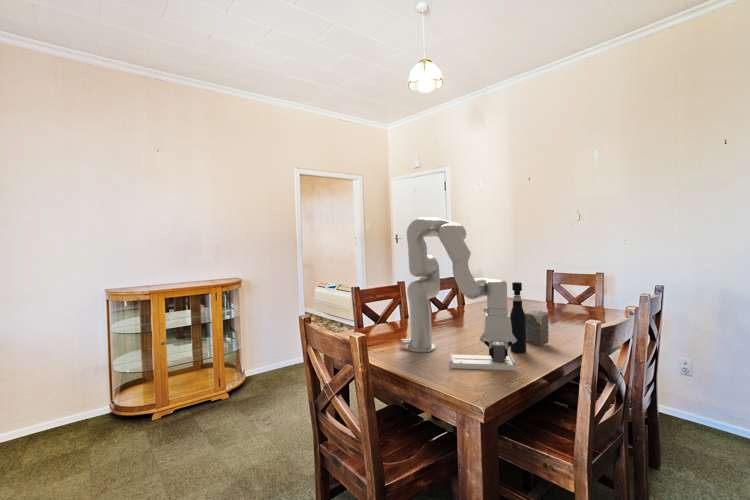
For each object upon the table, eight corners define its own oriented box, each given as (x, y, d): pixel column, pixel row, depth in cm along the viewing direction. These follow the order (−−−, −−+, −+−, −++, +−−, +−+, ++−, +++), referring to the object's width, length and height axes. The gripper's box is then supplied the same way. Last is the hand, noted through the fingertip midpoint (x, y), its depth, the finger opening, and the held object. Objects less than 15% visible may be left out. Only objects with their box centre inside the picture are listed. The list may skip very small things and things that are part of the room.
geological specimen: (521, 340, 172) (520, 309, 171) (530, 338, 174) (530, 308, 174) (540, 346, 162) (539, 313, 162) (549, 344, 165) (549, 312, 164)
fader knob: (493, 361, 138) (493, 346, 138) (492, 356, 144) (491, 341, 144) (504, 362, 138) (504, 346, 137) (502, 356, 144) (502, 341, 143)
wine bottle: (527, 354, 153) (526, 283, 152) (511, 353, 154) (510, 283, 153) (524, 349, 159) (523, 281, 158) (509, 348, 160) (507, 282, 159)
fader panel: (450, 367, 140) (450, 360, 140) (450, 359, 150) (450, 352, 150) (515, 370, 135) (515, 363, 135) (511, 361, 145) (511, 354, 145)
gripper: (475, 313, 138) (476, 360, 139) (522, 313, 135) (522, 362, 136) (474, 309, 146) (475, 354, 146) (518, 309, 142) (519, 355, 143)
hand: (498, 357), depth 141 cm, fingers closed on fader knob, 4 cm apart
